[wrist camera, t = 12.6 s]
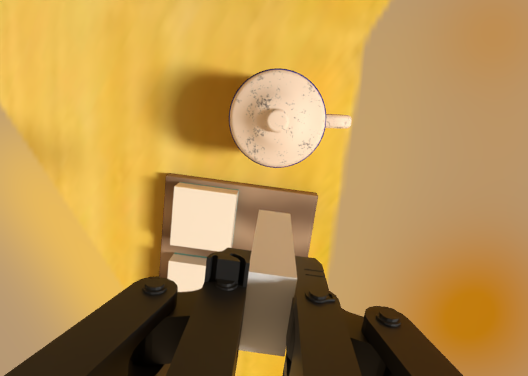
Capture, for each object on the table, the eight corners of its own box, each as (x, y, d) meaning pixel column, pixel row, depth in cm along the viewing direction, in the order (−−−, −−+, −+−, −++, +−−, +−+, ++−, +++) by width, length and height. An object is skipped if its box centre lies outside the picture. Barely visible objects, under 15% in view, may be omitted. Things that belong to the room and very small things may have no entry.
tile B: (230, 260, 44) (174, 252, 45) (227, 268, 42) (168, 260, 42) (224, 310, 46) (170, 302, 46) (221, 321, 44) (164, 313, 44)
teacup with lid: (237, 153, 43) (222, 171, 32) (239, 74, 41) (224, 62, 30) (338, 158, 43) (360, 178, 31) (345, 78, 41) (371, 68, 29)
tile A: (238, 189, 42) (180, 181, 42) (236, 194, 40) (174, 186, 40) (232, 244, 44) (175, 237, 44) (229, 253, 42) (169, 244, 42)
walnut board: (169, 173, 44) (166, 175, 42) (316, 193, 44) (317, 196, 42) (160, 298, 48) (157, 304, 46) (295, 317, 48) (296, 323, 46)
